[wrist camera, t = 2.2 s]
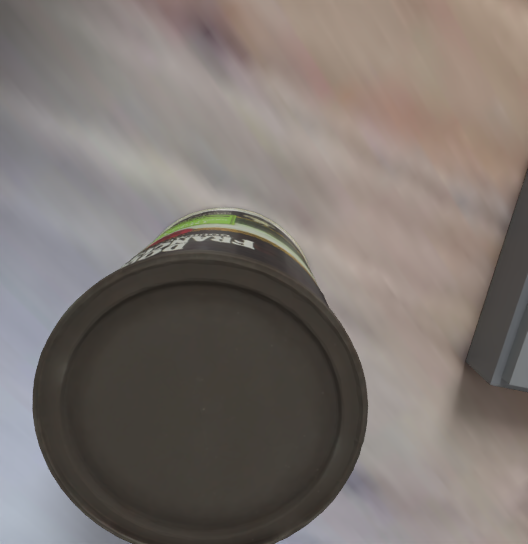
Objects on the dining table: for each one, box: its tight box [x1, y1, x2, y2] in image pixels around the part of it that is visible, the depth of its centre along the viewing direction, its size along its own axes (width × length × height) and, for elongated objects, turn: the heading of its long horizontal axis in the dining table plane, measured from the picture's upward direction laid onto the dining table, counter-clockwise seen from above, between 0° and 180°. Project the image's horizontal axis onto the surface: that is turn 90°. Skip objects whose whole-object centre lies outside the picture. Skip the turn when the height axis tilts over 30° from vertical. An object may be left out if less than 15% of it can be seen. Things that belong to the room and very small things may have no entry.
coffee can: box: [33, 208, 368, 544], centre depth 22 cm, size 10×10×14 cm
